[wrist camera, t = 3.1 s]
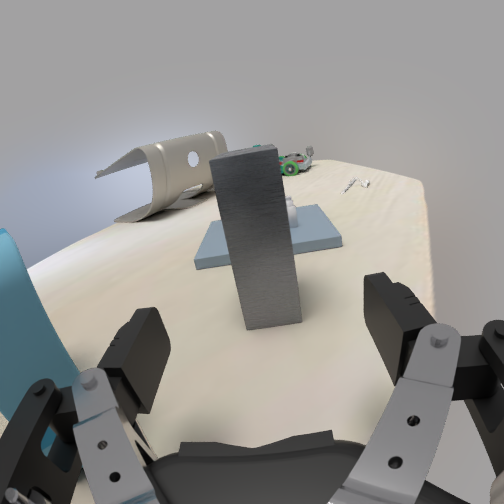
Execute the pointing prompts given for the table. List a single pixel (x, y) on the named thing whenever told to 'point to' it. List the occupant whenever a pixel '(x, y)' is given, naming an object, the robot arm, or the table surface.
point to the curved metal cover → (172, 171)
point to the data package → (26, 338)
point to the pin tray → (301, 227)
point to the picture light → (353, 182)
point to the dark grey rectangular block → (258, 234)
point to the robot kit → (294, 162)
